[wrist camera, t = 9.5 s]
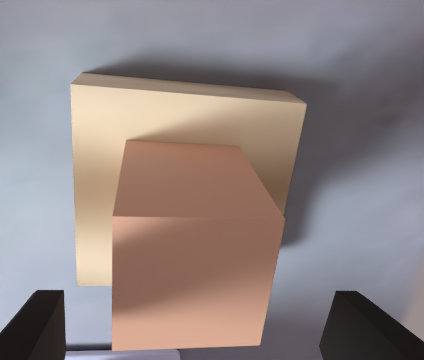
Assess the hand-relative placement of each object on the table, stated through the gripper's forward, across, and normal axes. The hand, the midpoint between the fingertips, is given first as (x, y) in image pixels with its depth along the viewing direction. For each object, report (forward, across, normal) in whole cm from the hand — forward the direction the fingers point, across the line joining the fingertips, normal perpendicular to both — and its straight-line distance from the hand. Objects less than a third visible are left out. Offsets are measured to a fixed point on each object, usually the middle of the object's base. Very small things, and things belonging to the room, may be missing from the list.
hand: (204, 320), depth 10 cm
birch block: (+10, 0, 0) cm, 10 cm away
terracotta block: (+7, 0, 0) cm, 7 cm away
